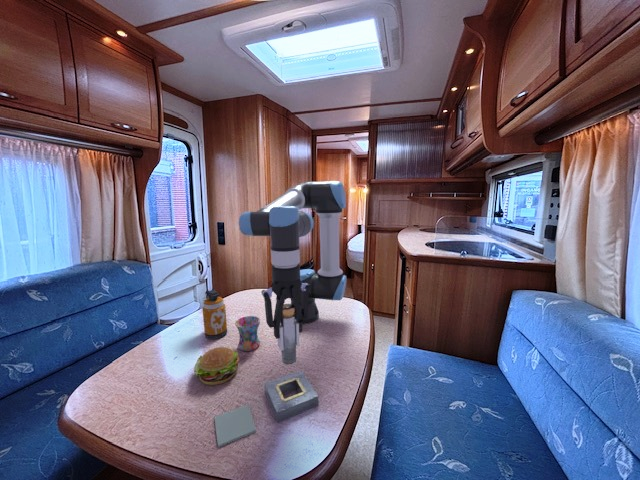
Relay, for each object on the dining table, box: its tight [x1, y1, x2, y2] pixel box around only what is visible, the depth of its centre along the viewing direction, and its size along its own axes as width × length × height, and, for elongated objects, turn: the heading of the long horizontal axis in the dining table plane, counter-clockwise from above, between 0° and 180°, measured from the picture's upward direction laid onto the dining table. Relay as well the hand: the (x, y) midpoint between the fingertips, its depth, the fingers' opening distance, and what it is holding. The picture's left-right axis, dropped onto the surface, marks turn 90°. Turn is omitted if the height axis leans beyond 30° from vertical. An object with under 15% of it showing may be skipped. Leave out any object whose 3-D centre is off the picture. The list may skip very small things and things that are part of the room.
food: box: [193, 346, 240, 386], centre depth 85 cm, size 14×14×8 cm
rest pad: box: [214, 404, 257, 448], centre depth 66 cm, size 9×9×1 cm
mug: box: [234, 315, 261, 352], centre depth 102 cm, size 12×9×11 cm
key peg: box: [280, 303, 297, 365], centre depth 71 cm, size 4×4×16 cm
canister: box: [201, 288, 228, 340], centre depth 110 cm, size 9×11×20 cm
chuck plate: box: [264, 370, 319, 423], centre depth 75 cm, size 12×12×3 cm
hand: (288, 345), depth 72 cm, fingers closed on key peg, 4 cm apart
